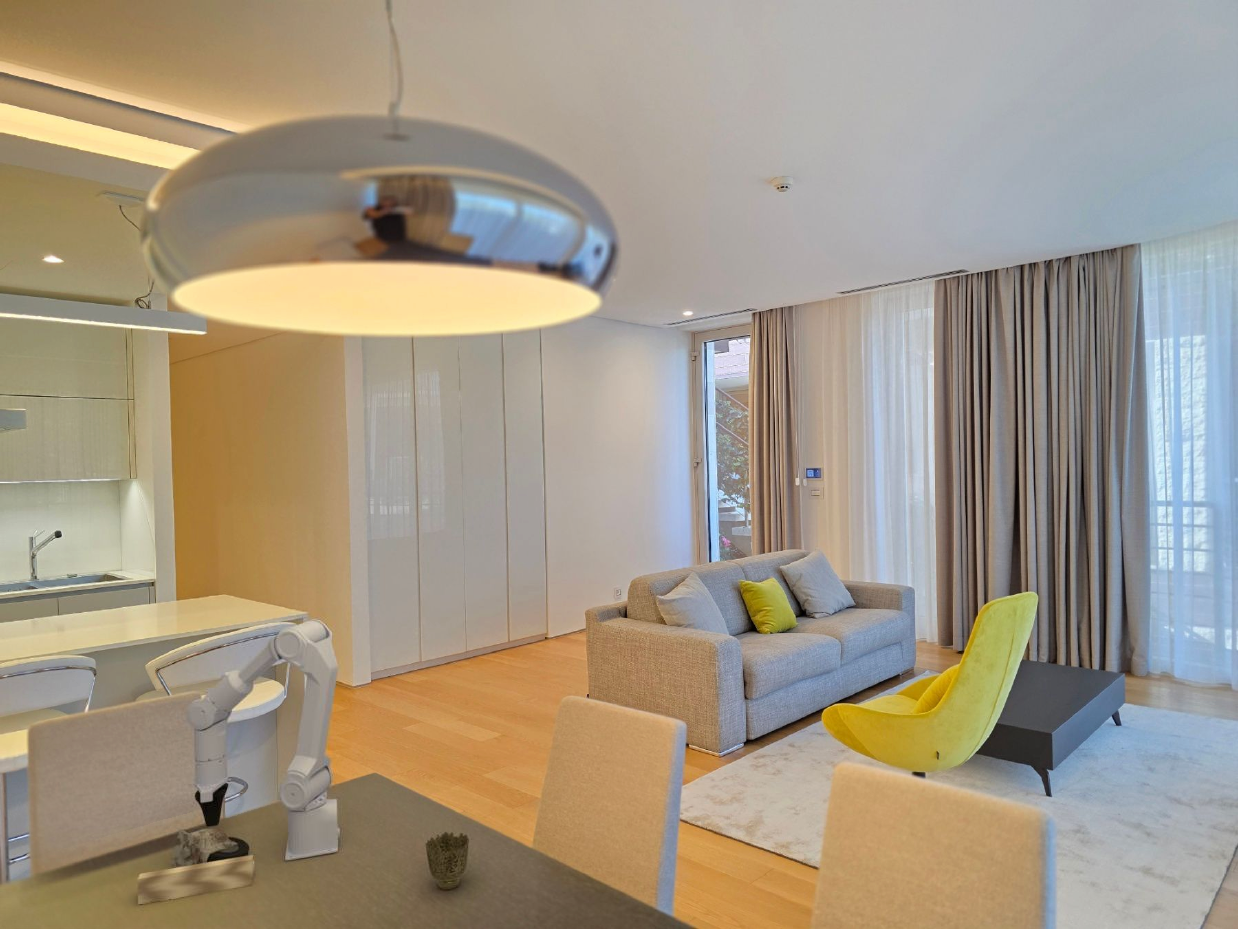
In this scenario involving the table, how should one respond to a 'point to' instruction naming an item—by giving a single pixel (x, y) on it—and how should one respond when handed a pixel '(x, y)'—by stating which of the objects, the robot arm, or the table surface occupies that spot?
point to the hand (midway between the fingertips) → (212, 825)
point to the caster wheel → (206, 847)
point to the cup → (447, 858)
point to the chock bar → (195, 879)
